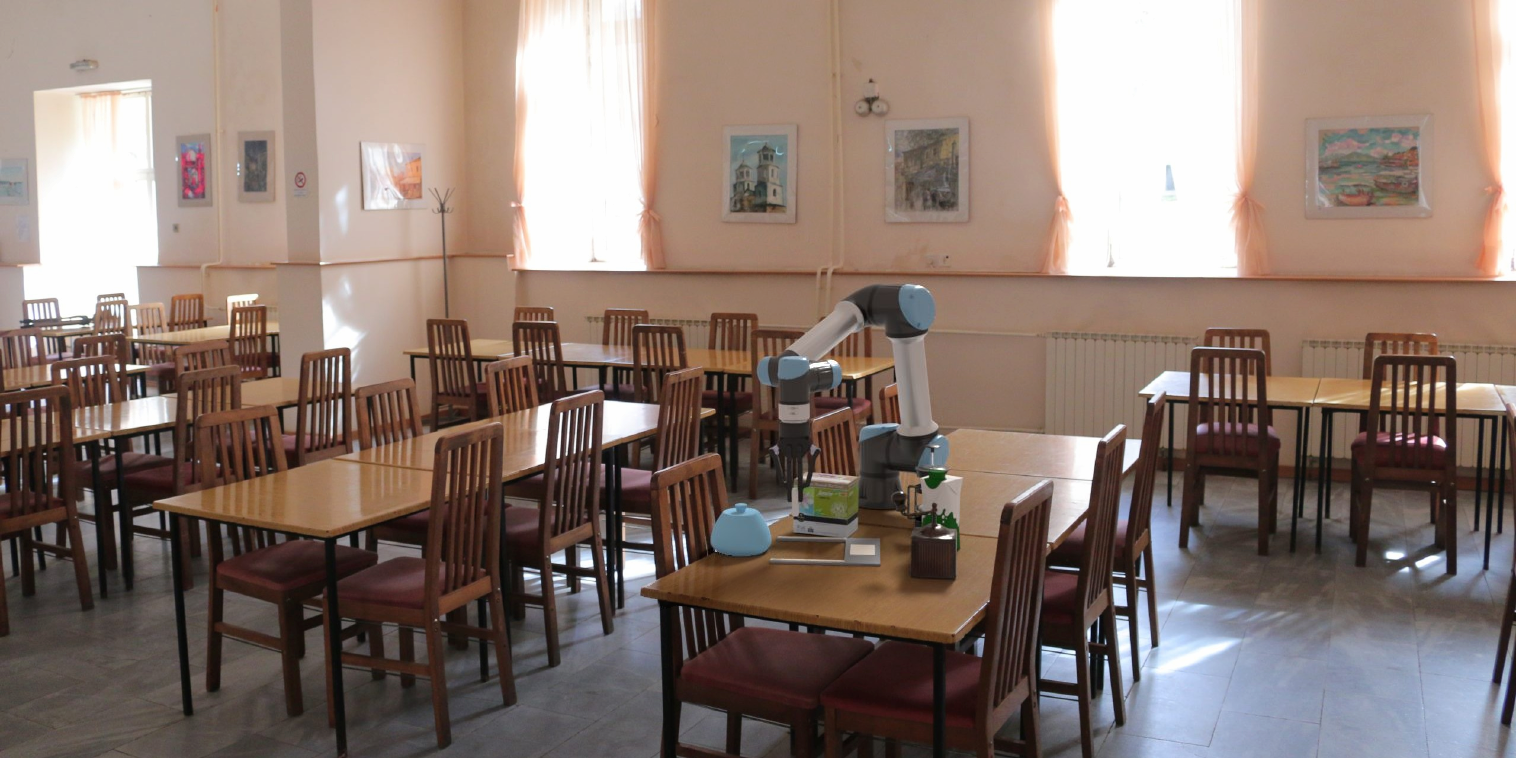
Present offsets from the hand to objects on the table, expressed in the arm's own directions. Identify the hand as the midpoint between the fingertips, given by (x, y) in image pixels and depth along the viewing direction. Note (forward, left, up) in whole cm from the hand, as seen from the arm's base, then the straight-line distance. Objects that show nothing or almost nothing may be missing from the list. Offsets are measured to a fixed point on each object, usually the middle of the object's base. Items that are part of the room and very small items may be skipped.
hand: (795, 514), depth 285 cm
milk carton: (-5, +36, -9) cm, 37 cm away
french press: (-22, +34, -9) cm, 41 cm away
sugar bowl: (0, -13, -9) cm, 16 cm away
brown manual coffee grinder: (+15, +30, -9) cm, 35 cm away
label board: (0, +9, -9) cm, 13 cm away
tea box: (-19, +7, -9) cm, 22 cm away
